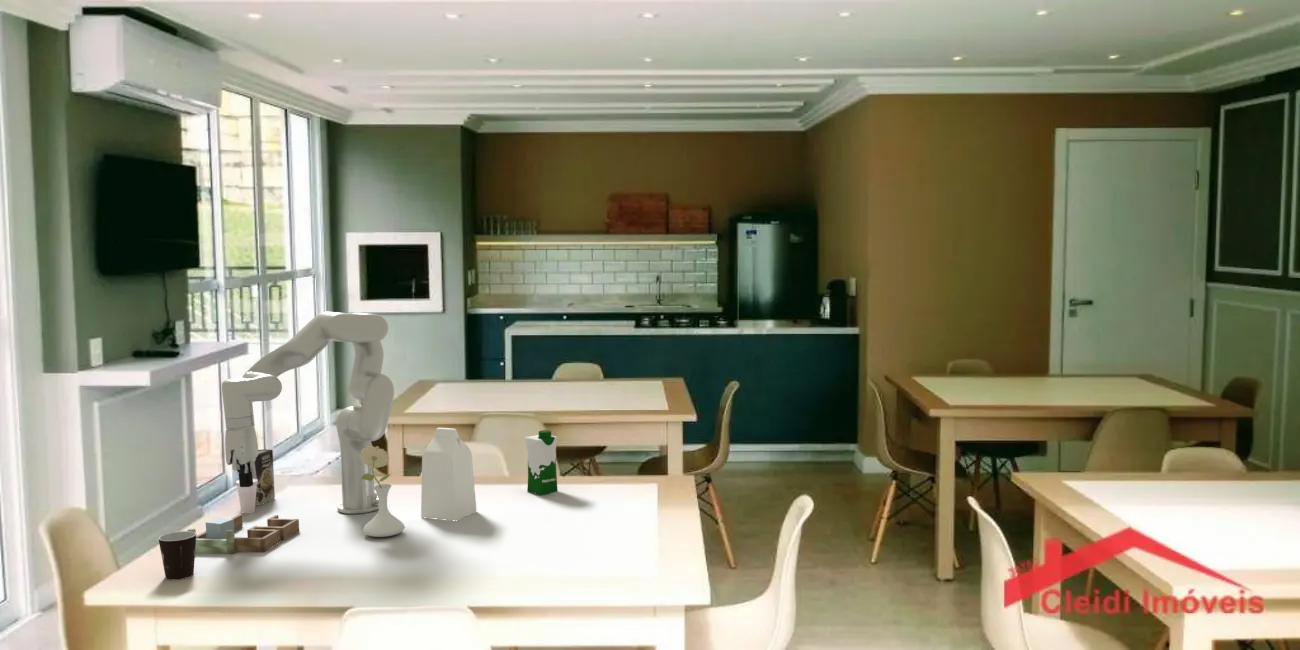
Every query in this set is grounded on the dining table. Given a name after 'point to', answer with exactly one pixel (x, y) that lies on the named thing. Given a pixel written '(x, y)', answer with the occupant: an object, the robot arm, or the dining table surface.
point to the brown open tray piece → (256, 541)
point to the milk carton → (542, 463)
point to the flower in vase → (380, 496)
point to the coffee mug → (178, 553)
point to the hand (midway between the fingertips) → (246, 486)
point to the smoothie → (247, 496)
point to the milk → (447, 477)
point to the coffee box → (264, 476)
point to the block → (219, 528)
